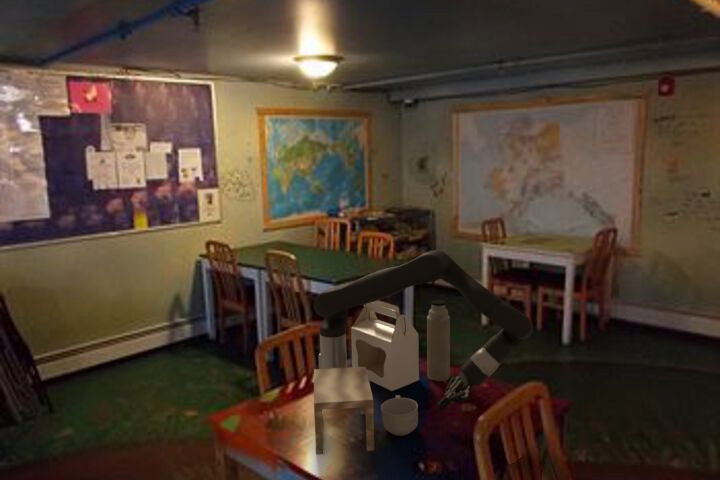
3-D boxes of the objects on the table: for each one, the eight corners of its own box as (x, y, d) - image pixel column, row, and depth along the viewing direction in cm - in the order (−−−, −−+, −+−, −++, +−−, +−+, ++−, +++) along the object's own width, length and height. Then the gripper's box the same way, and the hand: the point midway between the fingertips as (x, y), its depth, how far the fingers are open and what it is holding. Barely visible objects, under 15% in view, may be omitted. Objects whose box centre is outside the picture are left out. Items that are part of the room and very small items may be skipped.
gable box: (351, 372, 207) (349, 299, 202) (378, 363, 215) (376, 292, 210) (392, 391, 190) (391, 312, 185) (419, 380, 198) (419, 304, 193)
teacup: (416, 441, 158) (415, 415, 156) (378, 438, 160) (377, 412, 158) (420, 417, 171) (420, 393, 170) (385, 415, 173) (385, 391, 172)
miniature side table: (366, 411, 176) (365, 366, 174) (374, 450, 153) (373, 399, 151) (316, 414, 175) (314, 369, 172) (316, 454, 152) (313, 403, 150)
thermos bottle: (427, 371, 205) (426, 298, 200) (449, 372, 204) (449, 298, 200) (427, 380, 197) (427, 304, 193) (450, 381, 196) (450, 304, 192)
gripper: (465, 350, 170) (426, 390, 171) (478, 367, 157) (435, 410, 158) (482, 365, 171) (443, 405, 173) (496, 383, 158) (453, 426, 160)
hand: (439, 407), depth 165 cm, fingers closed
